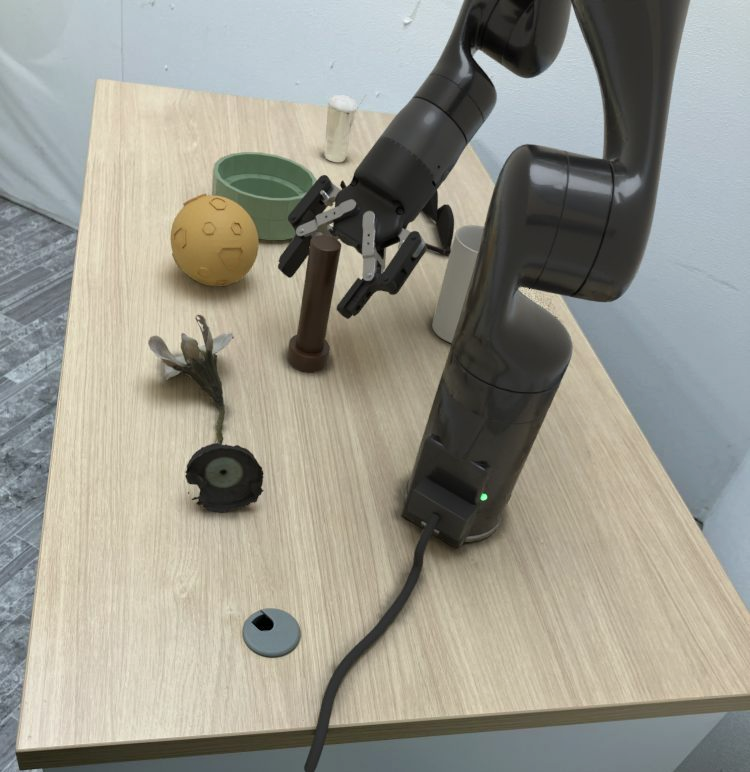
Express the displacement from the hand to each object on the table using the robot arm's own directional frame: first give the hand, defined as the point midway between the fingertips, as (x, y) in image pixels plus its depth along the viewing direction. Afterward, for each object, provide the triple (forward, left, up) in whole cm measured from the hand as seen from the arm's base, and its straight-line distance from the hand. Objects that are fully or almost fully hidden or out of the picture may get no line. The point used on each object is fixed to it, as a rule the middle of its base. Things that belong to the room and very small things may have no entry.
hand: (312, 293), depth 81 cm
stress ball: (+5, +17, -9) cm, 20 cm away
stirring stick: (+1, 0, -9) cm, 9 cm away
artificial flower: (-15, +1, -9) cm, 18 cm away
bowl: (+22, +23, -9) cm, 33 cm away
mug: (+21, -8, -9) cm, 24 cm away
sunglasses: (+36, +11, -9) cm, 39 cm away
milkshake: (+47, +28, -9) cm, 55 cm away
